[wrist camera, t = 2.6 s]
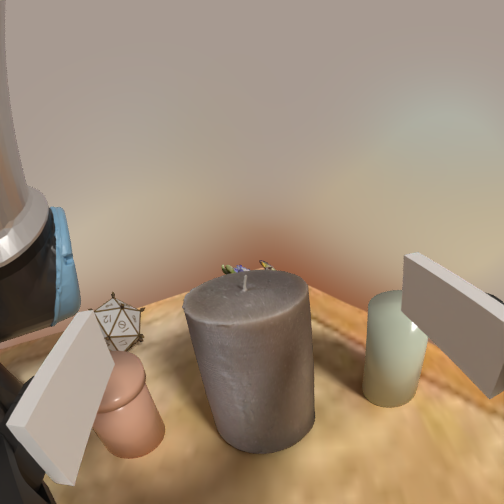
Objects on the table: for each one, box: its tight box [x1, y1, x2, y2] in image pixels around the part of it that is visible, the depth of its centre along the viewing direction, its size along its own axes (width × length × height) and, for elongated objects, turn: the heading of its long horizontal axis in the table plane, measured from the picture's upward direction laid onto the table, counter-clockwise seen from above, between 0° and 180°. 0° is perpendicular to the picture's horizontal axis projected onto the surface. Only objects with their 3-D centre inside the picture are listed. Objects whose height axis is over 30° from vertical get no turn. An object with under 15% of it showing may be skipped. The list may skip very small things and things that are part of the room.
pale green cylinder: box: [362, 290, 428, 408], centre depth 27 cm, size 6×6×10 cm
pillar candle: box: [182, 270, 315, 454], centre depth 26 cm, size 10×10×15 cm
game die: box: [88, 292, 145, 351], centre depth 41 cm, size 9×8×10 cm
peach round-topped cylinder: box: [92, 351, 165, 459], centre depth 26 cm, size 8×8×8 cm
